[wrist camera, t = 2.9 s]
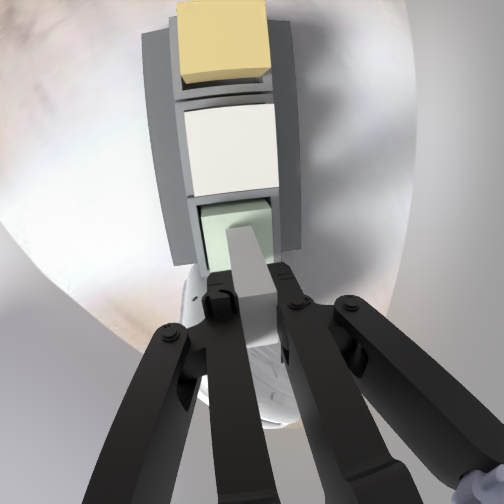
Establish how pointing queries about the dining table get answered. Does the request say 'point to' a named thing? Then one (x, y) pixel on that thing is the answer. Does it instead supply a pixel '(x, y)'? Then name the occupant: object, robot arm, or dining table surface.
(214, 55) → the key ochre
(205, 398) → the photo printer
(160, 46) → the keypad
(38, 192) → the dining table surface
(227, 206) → the key sage
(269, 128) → the key ivory
